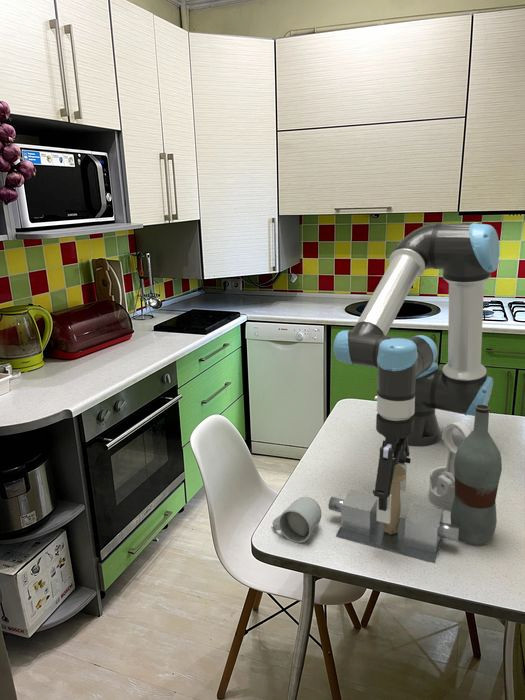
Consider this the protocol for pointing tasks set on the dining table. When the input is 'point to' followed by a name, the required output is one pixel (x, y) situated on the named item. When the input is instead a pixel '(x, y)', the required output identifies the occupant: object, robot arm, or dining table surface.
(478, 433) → the bottle
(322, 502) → the dining table surface
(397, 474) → the handle
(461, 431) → the engine component
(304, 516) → the ceramic mug
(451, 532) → the shaft bed
